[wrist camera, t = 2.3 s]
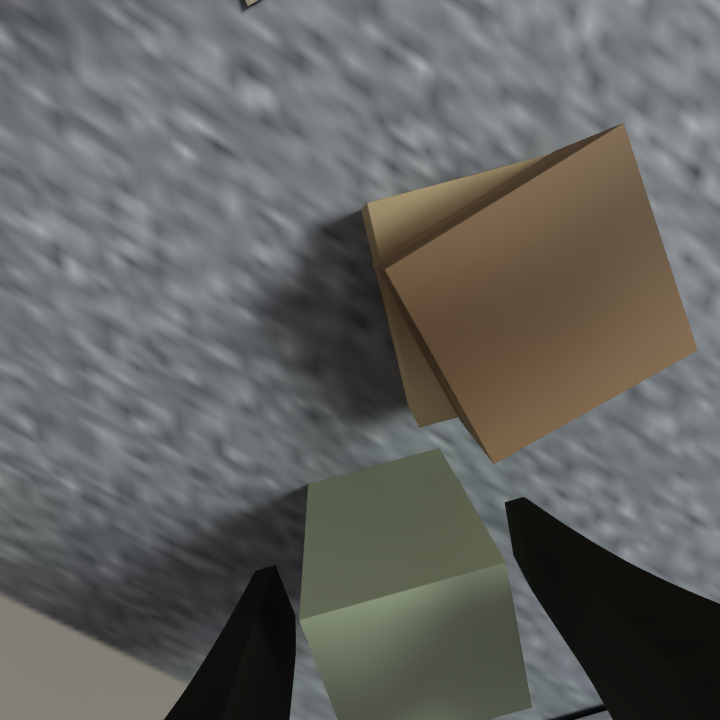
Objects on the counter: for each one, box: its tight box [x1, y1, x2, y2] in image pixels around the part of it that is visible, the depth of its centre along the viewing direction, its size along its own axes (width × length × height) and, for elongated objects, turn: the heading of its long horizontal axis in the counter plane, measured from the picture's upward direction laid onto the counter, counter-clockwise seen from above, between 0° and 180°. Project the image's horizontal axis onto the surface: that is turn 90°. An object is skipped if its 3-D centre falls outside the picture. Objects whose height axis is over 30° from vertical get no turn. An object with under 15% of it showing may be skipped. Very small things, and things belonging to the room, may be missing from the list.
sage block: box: [299, 449, 532, 720], centre depth 11 cm, size 4×4×5 cm
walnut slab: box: [372, 123, 697, 464], centre depth 9 cm, size 5×5×2 cm
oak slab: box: [361, 154, 550, 427], centre depth 11 cm, size 6×6×2 cm
